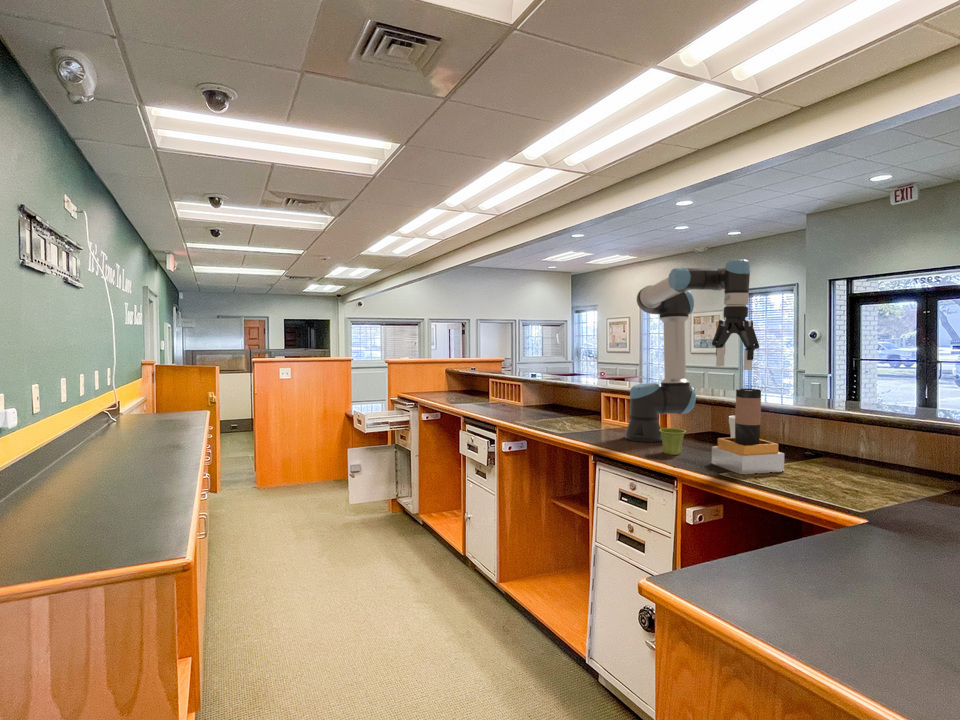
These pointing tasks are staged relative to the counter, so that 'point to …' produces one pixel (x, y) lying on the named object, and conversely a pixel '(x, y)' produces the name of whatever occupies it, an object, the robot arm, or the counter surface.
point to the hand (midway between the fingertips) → (733, 368)
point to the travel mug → (748, 416)
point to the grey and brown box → (747, 456)
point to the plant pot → (672, 440)
